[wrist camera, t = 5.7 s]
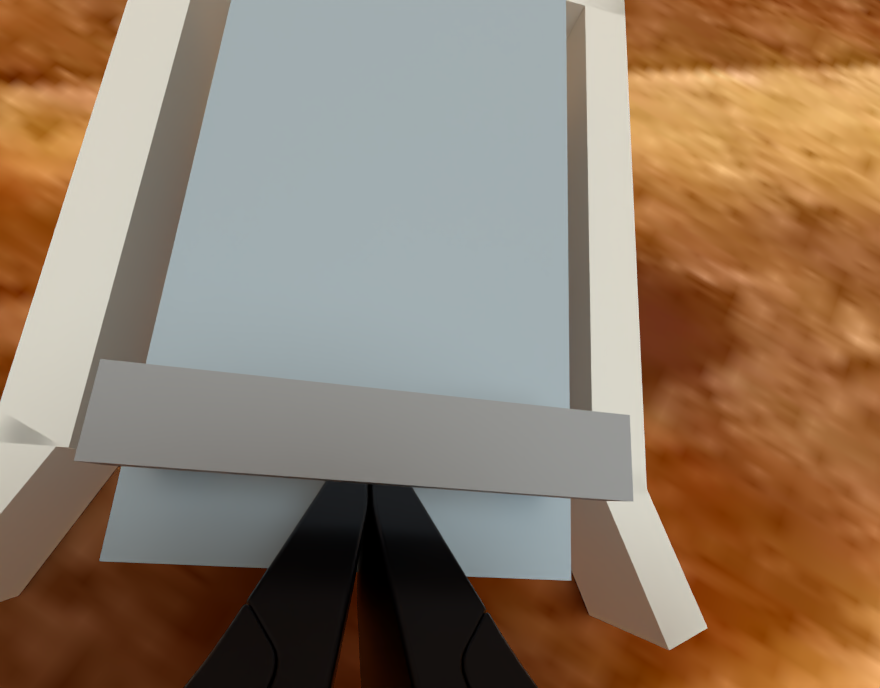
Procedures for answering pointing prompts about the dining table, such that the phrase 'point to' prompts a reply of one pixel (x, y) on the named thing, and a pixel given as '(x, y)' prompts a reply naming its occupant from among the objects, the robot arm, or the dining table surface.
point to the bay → (146, 264)
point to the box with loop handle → (366, 295)
